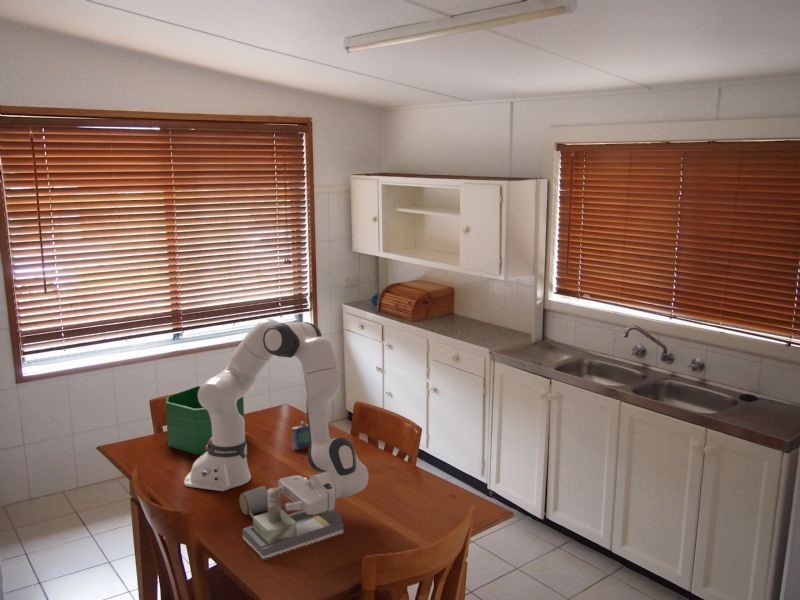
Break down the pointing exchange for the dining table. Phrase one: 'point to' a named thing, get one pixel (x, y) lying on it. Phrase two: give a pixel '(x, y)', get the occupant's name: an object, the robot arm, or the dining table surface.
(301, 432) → the flask
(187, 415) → the planter
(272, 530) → the block with upright post
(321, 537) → the tray
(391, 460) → the dining table surface
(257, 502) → the ceramic mug
